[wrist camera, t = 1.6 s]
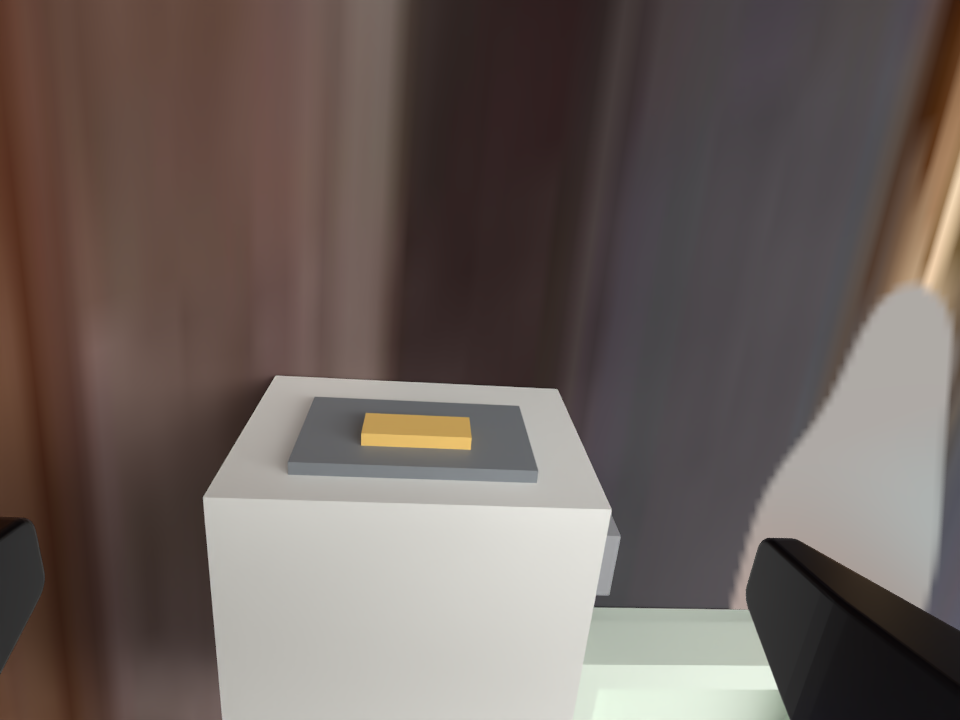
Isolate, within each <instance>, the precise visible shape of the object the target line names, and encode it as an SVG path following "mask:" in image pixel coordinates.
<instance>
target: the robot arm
mask: <svg viewBox="0 0 960 720" xmlns="http://www.w3.org/2000/svg"><path fill="white" fill-rule="evenodd" d="M44 581H45V574H44V568H43V563H42V558H41V553H40V548H39V544H38V539H37V534H36V530H35V527H34V525H33V523H32V522H31V521H30V520H28V519H26V518H19V517H0V674H1V672H2V670H3V668H4V666H5V664H6V662H7V660H8V658H9V656H10V654H11V652H12V650H13V649H14V647H15V645H16V643H17V641H18V639H19V637H20V635H21V633H22V631H23V629H24V627H25V625H26V623H27V621H28V619H29V617H30V616H31V614H32V612H33V610H34V608H35V606H36V604H37V602H38V600H39V598H40V596H41V593H42V590H43V587H44ZM746 601H747V606H748V609H749V612H750V615H751V618H752V620H753V623H754V626H755V628H756V631H757V634H758V636H759V639H760V642H761V645H762V647H763V650H764V653H765V655H766V658H767V661H768V664H769V666H770V669H771V672H772V674H773V677H774V680H775V682H776V685H777V688H778V691H779V693H780V696H781V699H782V701H783V704H784V706H785V709H786V711H787V714H788V716H789V719H790V720H960V631H959V630H957V629H955V628H954V627H952V626H950V625H948V624H947V623H945V622H943V621H941V620H939V619H938V618H936V617H934V616H932V615H931V614H929V613H927V612H925V611H923V610H922V609H920V608H918V607H916V606H915V605H913V604H911V603H909V602H907V601H906V600H904V599H902V598H900V597H899V596H897V595H895V594H893V593H891V592H890V591H888V590H886V589H884V588H883V587H881V586H879V585H877V584H875V583H874V582H872V581H870V580H868V579H867V578H865V577H863V576H861V575H859V574H858V573H856V572H854V571H852V570H851V569H849V568H847V567H845V566H843V565H842V564H840V563H838V562H836V561H835V560H833V559H831V558H829V557H827V556H826V555H824V554H822V553H820V552H819V551H817V550H815V549H813V548H811V547H810V546H808V545H806V544H804V543H803V542H801V541H799V540H796V539H792V538H767V539H765V540H763V541H762V542H761V543H760V545H759V547H758V550H757V553H756V556H755V560H754V563H753V567H752V570H751V573H750V577H749V580H748V584H747V588H746Z"/></svg>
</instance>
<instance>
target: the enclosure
mask: <svg viewBox="0 0 960 720" xmlns="http://www.w3.org/2000/svg"><path fill="white" fill-rule="evenodd" d="M203 505H204V516H205V528H206V539H207V551H208V562H209V573H210V585H211V596H212V608H213V619H214V630H215V642H216V653H217V665H218V676H219V688H220V699H221V710H222V720H573V715H574V709H575V704H576V699H577V693H578V688H579V683H580V677H581V672H582V666H583V661H584V656H585V650H586V645H587V640H588V634H589V629H590V623H591V618H592V613H593V607H594V602H595V597H596V595H609V594H610V589H611V583H612V578H613V573H614V568H615V563H616V558H617V553H618V548H619V543H620V537H621V536H620V533H619V531H618V529H617V527H616V524H615V522H614V520H613V518H612V515H611V511H612V509H611V507H610V505H609V503H608V500H607V498H606V496H605V494H604V491H603V489H602V487H601V485H600V483H599V480H598V478H597V476H596V474H595V472H594V469H593V467H592V465H591V463H590V460H589V458H588V456H587V454H586V452H585V449H584V447H583V445H582V443H581V440H580V438H579V436H578V434H577V432H576V429H575V427H574V425H573V423H572V421H571V418H570V416H569V414H568V412H567V409H566V407H565V405H564V403H563V401H562V398H561V396H560V394H559V392H558V389H544V388H523V387H502V386H481V385H461V384H440V383H419V382H398V381H378V380H357V379H336V378H315V377H294V376H275V377H274V379H273V381H272V382H271V384H270V386H269V387H268V389H267V391H266V392H265V394H264V396H263V397H262V399H261V401H260V402H259V404H258V406H257V407H256V409H255V411H254V412H253V414H252V416H251V417H250V419H249V421H248V423H247V424H246V426H245V428H244V429H243V431H242V433H241V434H240V436H239V438H238V439H237V441H236V443H235V444H234V446H233V448H232V449H231V451H230V453H229V454H228V456H227V458H226V459H225V461H224V463H223V464H222V466H221V468H220V469H219V471H218V473H217V474H216V476H215V478H214V480H213V481H212V483H211V485H210V486H209V488H208V490H207V491H206V493H205V495H204V496H203Z"/></svg>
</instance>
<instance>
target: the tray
mask: <svg viewBox="0 0 960 720" xmlns="http://www.w3.org/2000/svg"><path fill="white" fill-rule="evenodd" d="M573 720H790V719H789V716H788V714H787V711H786V709H785V706H784V704H783V701H782V699H781V696H780V693H779V691H778V688H777V685H776V682H775V680H774V677H773V674H772V672H771V669H770V666H769V664H768V661H767V658H766V655H765V653H764V650H763V647H762V645H761V642H760V639H759V636H758V634H757V631H756V628H755V626H754V623H753V620H752V618H751V615H750V612H749V610H733V609H665V608H597V607H593V613H592V618H591V623H590V629H589V634H588V640H587V645H586V650H585V656H584V661H583V666H582V672H581V677H580V683H579V688H578V693H577V699H576V704H575V709H574V715H573Z"/></svg>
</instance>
